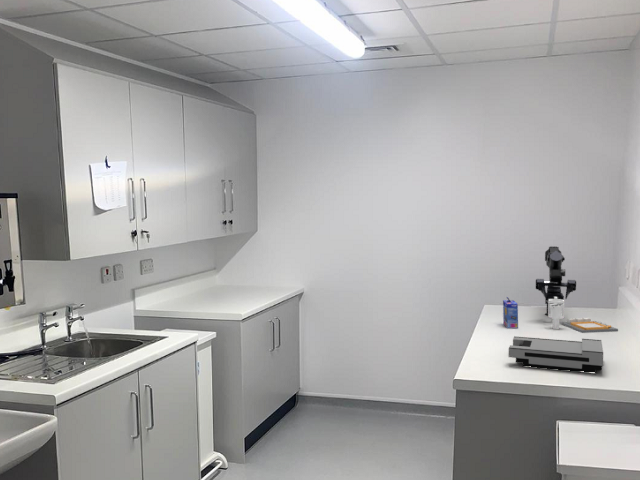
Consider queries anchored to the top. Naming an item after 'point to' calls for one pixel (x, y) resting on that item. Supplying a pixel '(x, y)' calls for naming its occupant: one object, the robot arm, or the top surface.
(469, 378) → the top surface
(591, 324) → the panel
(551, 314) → the white piece
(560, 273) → the robot arm
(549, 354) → the game console
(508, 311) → the ink cartridge box
